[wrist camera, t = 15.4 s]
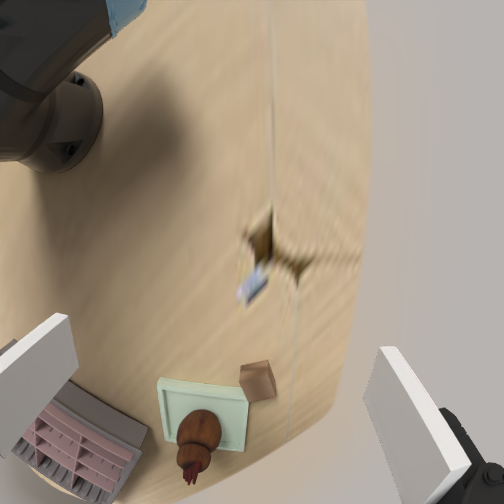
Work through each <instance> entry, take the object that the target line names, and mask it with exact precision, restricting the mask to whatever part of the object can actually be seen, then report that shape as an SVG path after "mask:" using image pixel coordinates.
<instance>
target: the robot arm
mask: <svg viewBox="0 0 504 504" xmlns="http://www.w3.org/2000/svg"><path fill="white" fill-rule="evenodd" d="M146 5H147V0H0V162H8V161H18V162H20V163H22V164H24V165H25V166H27V167H29V168H31V169H33V170H35V171H37V172H41V173H60V172H64V171H66V170H69V169H71V168H72V167H74V166H75V165H76V164H78V163H79V162H80V161H81V160H82V159H83V158H84V157H85V155H86V154H87V153H88V151H89V150H90V148H91V147H92V145H93V143H94V141H95V139H96V137H97V134H98V131H99V128H100V124H101V119H102V99H101V95H100V92H99V89H98V87H97V86H96V84H95V83H94V82H93V80H91V79H90V78H89V77H87V76H85V75H83V74H81V73H79V72H77V71H73V70H74V69H75V68H77V67H78V66H79V65H80V64H81V63H82V62H83V61H84V60H86V59H87V58H88V57H89V56H90V55H91V54H93V53H94V52H95V51H96V50H97V49H99V48H100V47H101V46H102V45H104V44H105V43H106V42H107V41H109V40H110V39H111V38H112V39H113V38H115V37H116V36H117V33H118V32H119V31H121V30H122V29H123V28H124V27H125V26H127V25H128V24H129V23H131V22H132V21H133V20H134V19H136V18H137V17H138V16H140V15H141V14H142V12H143V11H144V9H145V7H146ZM78 368H79V363H78V359H77V354H76V350H75V346H74V341H73V336H72V331H71V326H70V320H69V315H64V314H60V313H55V314H53V315H52V316H51V317H49V318H48V319H47V320H46V321H44V322H43V323H42V324H40V325H39V326H38V327H36V328H35V329H34V330H33V331H31V332H30V333H29V334H27V335H26V336H25V337H24V338H22V339H21V340H20V341H19V342H17V343H16V344H15V345H14V346H12V347H11V348H10V349H9V350H7V351H6V352H5V353H4V354H3V355H1V356H0V456H1V457H2V458H4V459H5V458H6V456H7V455H8V454H9V452H10V451H11V450H12V449H13V447H14V446H15V445H16V443H17V442H18V441H19V439H20V438H21V437H22V436H23V434H24V433H25V432H26V430H27V429H28V428H29V427H30V425H31V424H32V423H33V422H34V420H35V419H36V418H37V417H38V415H39V414H40V413H41V412H42V411H43V409H44V408H45V407H46V406H47V404H48V403H49V402H50V401H51V400H52V398H53V397H54V396H55V395H56V394H57V392H58V391H59V390H60V389H61V388H62V386H63V385H64V384H65V383H66V382H67V381H68V379H69V378H70V377H71V376H72V375H73V374H74V372H75V371H76V370H77V369H78ZM363 400H364V402H365V405H366V407H367V410H368V412H369V415H370V417H371V420H372V422H373V425H374V427H375V430H376V433H377V435H378V438H379V441H380V443H381V446H382V448H383V451H384V454H385V456H386V459H387V462H388V465H389V467H390V470H391V473H392V476H393V478H394V481H395V484H396V487H397V490H398V492H399V496H400V498H401V501H402V504H504V468H503V467H502V466H501V465H498V464H496V463H490V462H488V463H486V462H485V461H484V459H483V458H482V456H481V454H480V453H479V451H478V450H477V448H476V446H475V445H474V444H473V442H472V440H471V439H470V437H469V436H468V435H466V431H465V429H464V428H463V427H461V423H460V422H459V421H458V419H457V417H456V416H455V415H454V414H453V413H451V412H450V411H449V410H447V409H446V408H440V409H438V408H437V407H436V405H435V404H434V402H433V401H432V399H431V397H430V396H429V394H428V393H427V391H426V390H425V389H424V387H423V385H422V384H421V382H420V381H419V379H418V378H417V377H416V375H415V374H414V372H413V371H412V369H411V368H410V366H409V365H408V363H407V362H406V361H405V359H404V358H403V356H402V355H401V353H400V352H399V351H398V349H397V348H396V347H395V346H393V347H379V350H378V353H377V356H376V360H375V363H374V367H373V369H372V372H371V376H370V379H369V381H368V385H367V387H366V390H365V393H364V396H363Z"/></svg>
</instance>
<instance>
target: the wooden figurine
mask: <svg viewBox="0 0 504 504" xmlns="http://www.w3.org/2000/svg"><path fill="white" fill-rule="evenodd" d="M221 437H222V428H221V425H220V422H219V420H218V418H217V416H216V415H215V414H214V413H213V412H211V411H209V410H205V409H198V410H194V411H192V412H190V413H189V414H188V415H187V416H186V417H185V418H184V419H183V420H182V421H181V423H180V425H179V427H178V431H177V437H176V441H177V444H178V447H179V448H180V449H179V451H178V454H177V463H178V465H179V466H180V467H181V468H182V469H183V479H185V481H188V485H190V483H191V480H192V479H193V484H195V482H196V479H197V475H198V473H200V472H203V471H204V470H205V469H207V467H208V466H209V464H210V460H211V454H210V453H211V452H213V451H214V450H216V449H217V447H218V446H219V443H220V441H221Z"/></svg>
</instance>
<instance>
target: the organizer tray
mask: <svg viewBox="0 0 504 504" xmlns="http://www.w3.org/2000/svg"><path fill="white" fill-rule="evenodd" d="M17 342H18V341H16V340H15V339H13V340H12V341H11V342H10V343H8V344H7V345H6V346H4V347H3V348H2V349H1V350H0V356H1V355H3V354H4V353H5V352H6V351H7V350H9V349H10V348H11V347H12V346H14V345H15V344H16V343H17ZM147 430H148V427H146V426H144V425H142V424H140V423H138V422H137V421H135V420H133V419H131V418H129V417H127V416H125V415H123V414H122V413H120V412H118V411H116V410H115V409H113V408H111V407H109V406H108V405H106V404H104V403H103V402H101V401H99V400H98V399H96V398H94V397H93V396H91V394H88V393H86V392H85V391H83V390H82V389H80V388H79V387H77V386H76V385H74V384H73V383H71V382H70V381H67V382H66V383H65V384H64V385H63V386H62V388H61V389H60V390H59V391H58V392H57V394H56V395H55V396H54V397H53V398H52V400H51V401H50V402H49V403H48V404H47V406H46V407H45V408H44V409H43V411H42V412H41V413H40V414H39V415H38V417H37V418H36V419H35V420H34V422H33V423H32V424H31V425H30V427H29V428H28V429H27V430H26V432H25V433H24V434H23V436H22V437H21V438H20V439H19V441H18V442H17V443H16V445H15V446H14V447H13V449H12V450H11V451H12V452H13V453H14V454H16V455H17V456H18V457H19V458H21V459H22V460H23V461H25V462H26V463H27V464H29V465H30V466H31V467H33V468H34V469H36V470H37V471H38V472H40V473H41V474H43V475H44V476H46V477H47V478H49V479H50V480H52V481H53V482H55V483H56V484H58V485H60V486H61V487H63V488H65V489H66V490H68V491H70V492H71V493H73V494H75V495H76V496H78V497H80V498H82V499H84V500H85V501H87V502H89V503H91V504H112V503H113V502H114V500H115V498H116V497H117V495H118V493H119V492H120V490H121V488H122V487H123V485H124V484H125V482H126V480H127V479H128V477H129V475H130V474H131V472H132V470H133V469H134V467H135V466H136V464H137V462H138V461H139V459H140V457H141V456H142V454H143V452H142V451H140V450H139V449H140V447H141V445H142V442H143V440H144V437H145V435H146V433H147Z"/></svg>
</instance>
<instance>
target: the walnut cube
mask: <svg viewBox="0 0 504 504" xmlns="http://www.w3.org/2000/svg"><path fill="white" fill-rule="evenodd" d="M239 383H240V385H241V387H242V390H243V392H244V394H245V397H246V399H247V401H248V402H253V401H259V400H264V399H268V398H273V397H276V391H275V379H274V376H273V373H272V370H271V367H270V365H269V362H268V360H265V361H260V362H256V363H251V364H247V365H242V366H241V370H240V379H239Z"/></svg>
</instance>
